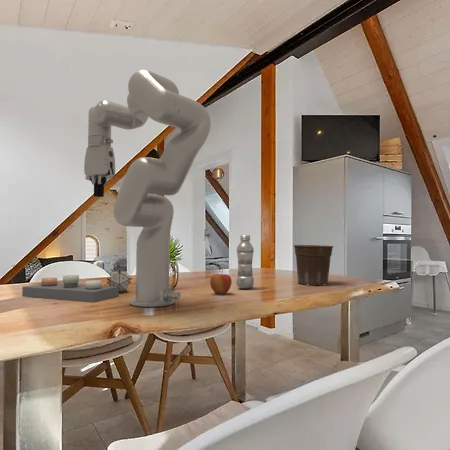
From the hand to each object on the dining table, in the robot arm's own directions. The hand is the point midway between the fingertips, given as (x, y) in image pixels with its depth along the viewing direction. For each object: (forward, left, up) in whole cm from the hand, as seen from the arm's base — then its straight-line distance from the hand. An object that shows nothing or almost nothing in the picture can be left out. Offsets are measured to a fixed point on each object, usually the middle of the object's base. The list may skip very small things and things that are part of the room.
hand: (98, 196), depth 127 cm
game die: (-6, -4, -33) cm, 34 cm away
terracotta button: (+12, +9, -32) cm, 36 cm away
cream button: (-6, +9, -32) cm, 34 cm away
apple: (-40, -14, -33) cm, 54 cm away
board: (+3, +9, -33) cm, 34 cm away
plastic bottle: (-44, -29, -33) cm, 62 cm away
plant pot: (-66, -54, -33) cm, 92 cm away
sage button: (+3, +9, -31) cm, 33 cm away
